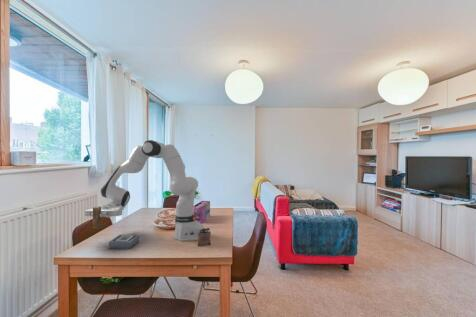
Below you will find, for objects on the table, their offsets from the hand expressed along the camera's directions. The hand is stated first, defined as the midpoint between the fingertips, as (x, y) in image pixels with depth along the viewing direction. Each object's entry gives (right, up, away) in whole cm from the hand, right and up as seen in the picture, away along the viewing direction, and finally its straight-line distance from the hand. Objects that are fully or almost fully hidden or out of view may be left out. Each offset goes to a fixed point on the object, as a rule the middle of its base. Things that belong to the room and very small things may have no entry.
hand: (96, 215), depth 137 cm
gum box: (+53, -18, +59) cm, 82 cm away
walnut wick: (0, -7, +1) cm, 7 cm away
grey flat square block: (+16, -18, +1) cm, 24 cm away
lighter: (+63, -19, +3) cm, 66 cm away
